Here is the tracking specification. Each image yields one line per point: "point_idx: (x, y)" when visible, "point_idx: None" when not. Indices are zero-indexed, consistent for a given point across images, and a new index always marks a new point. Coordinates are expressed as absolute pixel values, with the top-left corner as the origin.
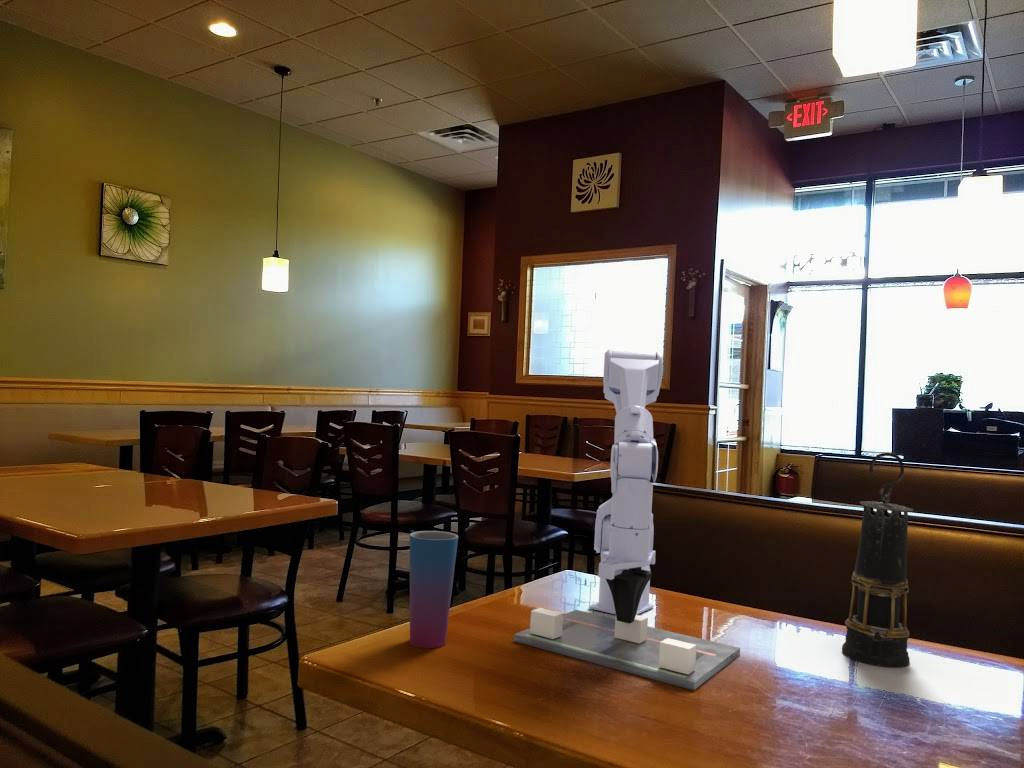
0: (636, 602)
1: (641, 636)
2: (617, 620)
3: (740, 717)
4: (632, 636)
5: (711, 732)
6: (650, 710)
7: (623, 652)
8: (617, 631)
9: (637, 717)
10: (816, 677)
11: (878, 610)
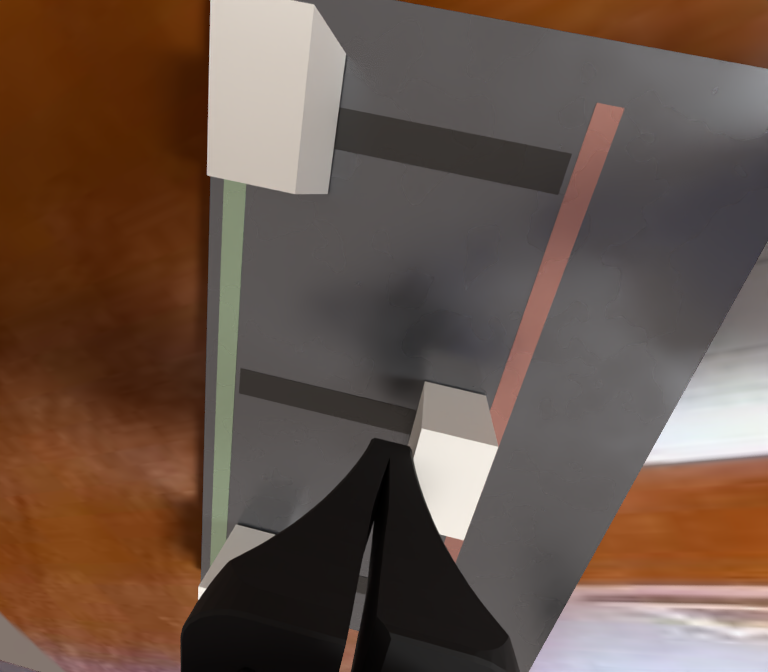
0: (368, 578)
1: None
2: (371, 440)
3: (147, 629)
4: None
5: (56, 592)
6: (55, 509)
7: (293, 431)
8: (421, 403)
9: (8, 492)
10: None
11: None
